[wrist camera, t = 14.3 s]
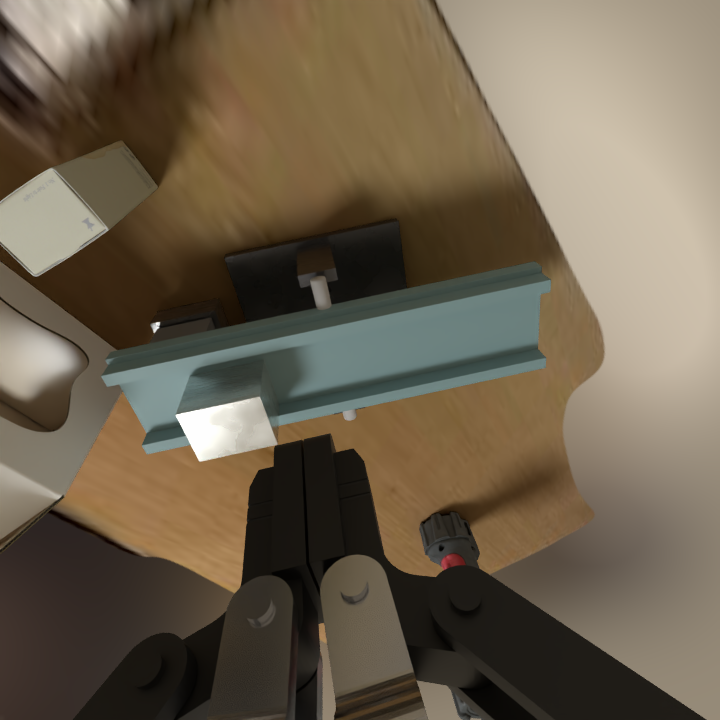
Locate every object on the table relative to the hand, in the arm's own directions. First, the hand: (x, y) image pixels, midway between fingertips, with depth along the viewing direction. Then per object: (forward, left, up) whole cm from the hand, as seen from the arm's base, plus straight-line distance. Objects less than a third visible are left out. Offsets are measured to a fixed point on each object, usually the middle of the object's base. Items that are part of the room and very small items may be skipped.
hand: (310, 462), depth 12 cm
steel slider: (+11, -8, -22) cm, 26 cm away
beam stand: (+11, -4, -32) cm, 34 cm away
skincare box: (-4, -14, -33) cm, 36 cm away
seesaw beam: (+11, 0, -29) cm, 31 cm away
